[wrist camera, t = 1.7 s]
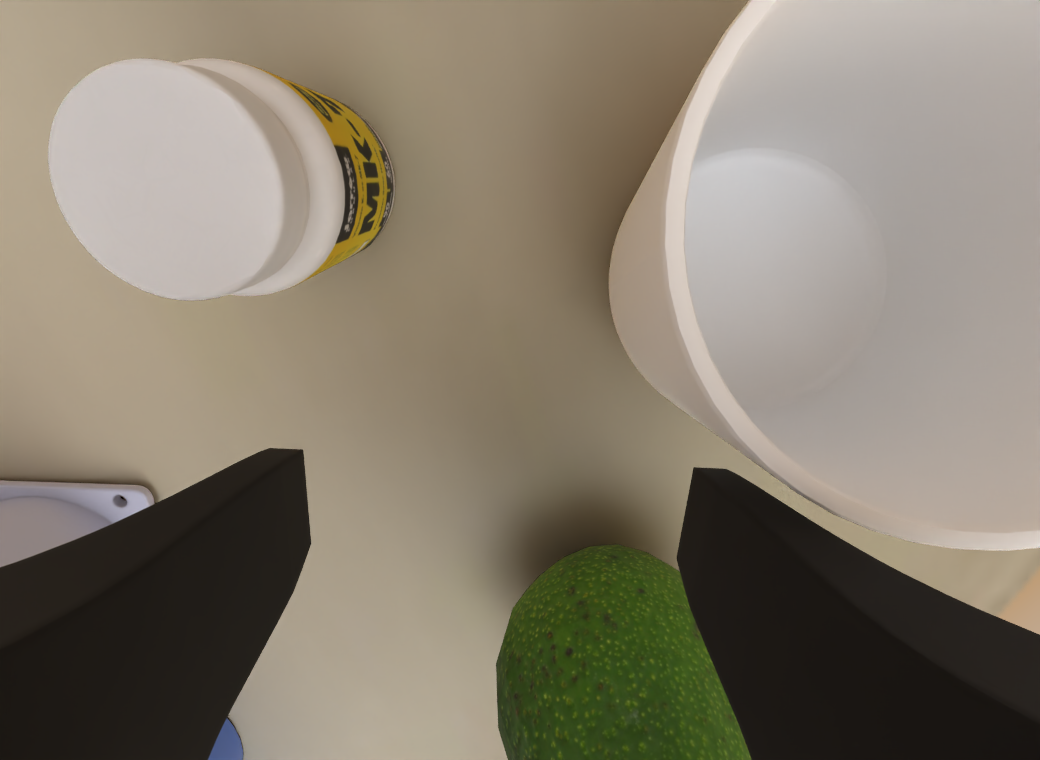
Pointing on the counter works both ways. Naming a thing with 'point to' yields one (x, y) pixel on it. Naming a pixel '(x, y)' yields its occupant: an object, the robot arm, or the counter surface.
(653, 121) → the counter surface
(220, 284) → the supplement bottle
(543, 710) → the fruit
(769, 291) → the mug
